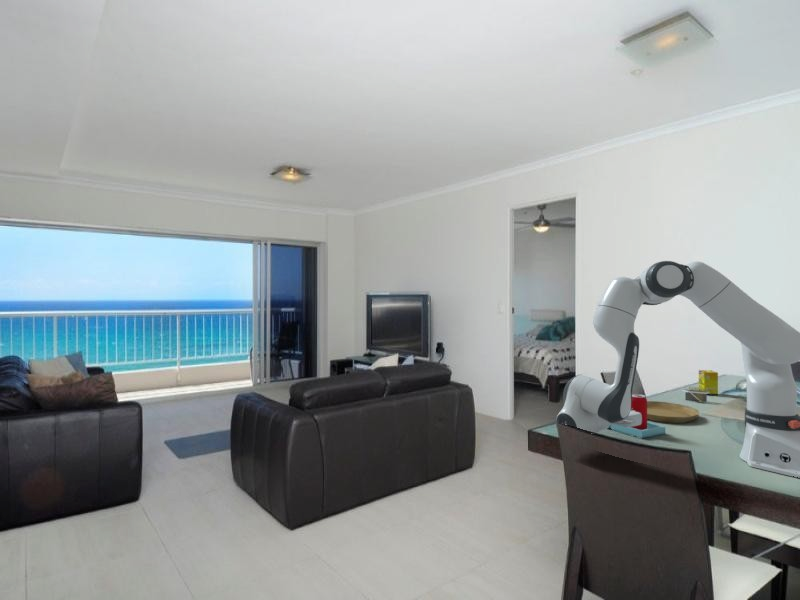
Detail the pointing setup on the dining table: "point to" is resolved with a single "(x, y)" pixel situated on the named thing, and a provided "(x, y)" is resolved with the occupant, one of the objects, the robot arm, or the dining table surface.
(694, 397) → the platform
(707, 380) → the supplement box
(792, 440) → the robot arm
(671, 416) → the plant saucer
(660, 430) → the tray
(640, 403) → the beverage can
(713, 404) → the dining table surface
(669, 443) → the dining table surface
